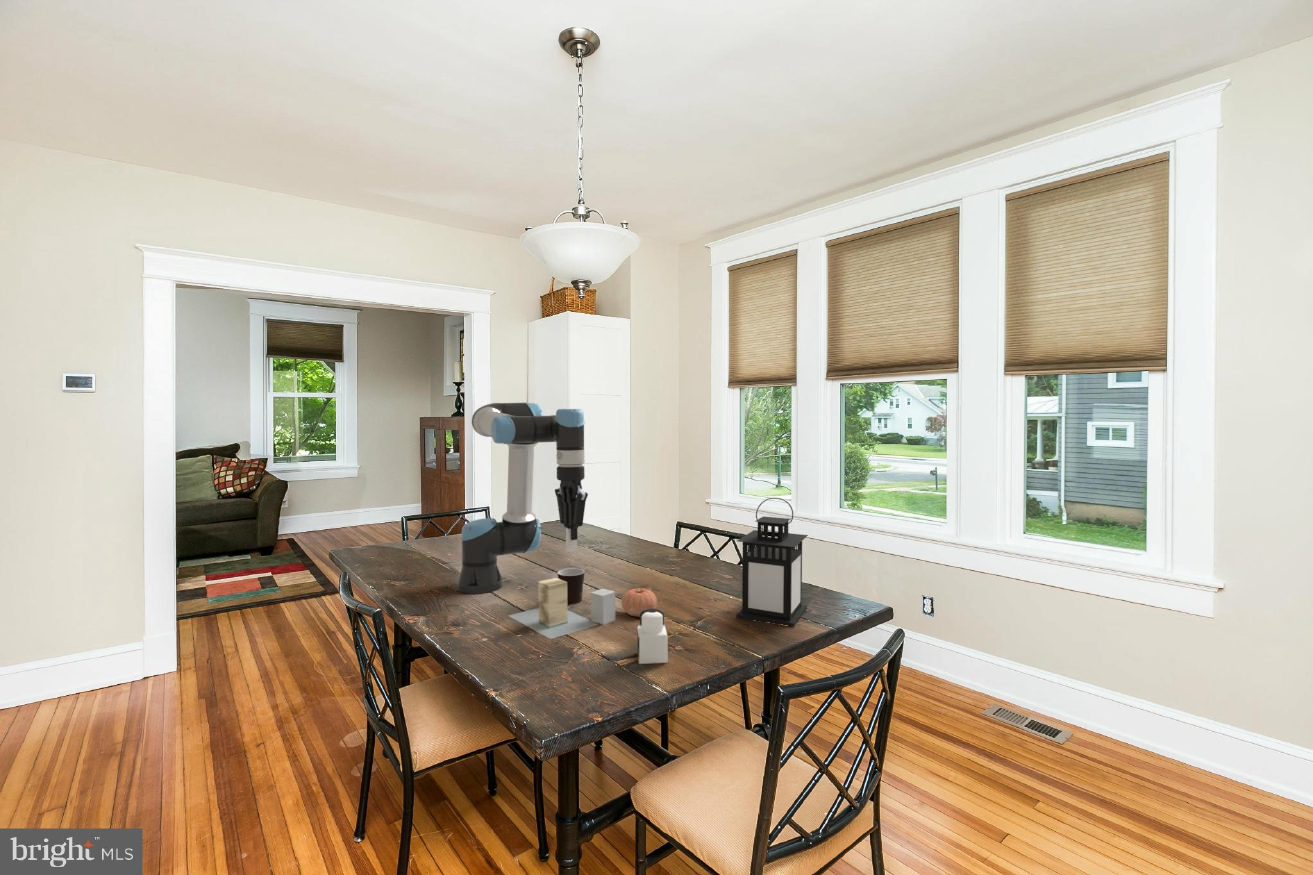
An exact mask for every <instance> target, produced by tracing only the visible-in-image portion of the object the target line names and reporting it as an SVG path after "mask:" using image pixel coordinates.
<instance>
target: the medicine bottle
mask: <svg viewBox="0 0 1313 875" xmlns="http://www.w3.org/2000/svg"><path fill="white" fill-rule="evenodd" d="M666 629H667V628H666V625H665V613H664V611H662V610H660V609H658V608H655V609H646V610H643V611H642V612H641V613H640V617H639V625H637V627H636V637H637V639H636V640H637V641H636V642H637V643H636V645H637V646H636V651H637V662H638V664H639V665H645V664H646V665H647V664H648V665H650V664H667V663H668V661H669V660H668V659H669V658H668V646H669V645H668V638H669V637H668V632H667V630H666Z"/></svg>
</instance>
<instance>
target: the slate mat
mask: <svg viewBox="0 0 1313 875" xmlns="http://www.w3.org/2000/svg"><path fill="white" fill-rule="evenodd" d="M508 617H509V618H511V619H513V620H515V621H517V622H519V623H520V624H523V625H524V626H525V627H527V628H530V629H531V630H533V631H534V632H536V633H539V634H541V635H542V636H545V637H546V638H548V640H549V639H550V640H553V639H555V638H559V637H562V636H566V635H568V634H572V633H573V634H574V633H576V632H579V631H583V630H585V629H590V628H592V627H596V626H599V625H600V624H599V623H596V622H593V621H591V619H588V618H585V617H584V616H581V615H579V614H577V613H575V612H572V611H570V610H568V623H566V624H563V625H559V626H555V627H552V628H548V627H547V626H545V625H543V624H541V623H539V607H537V608H533V609H529V610H526V611H525V610H524V611H522V612H517V613H513V614H509V615H508Z"/></svg>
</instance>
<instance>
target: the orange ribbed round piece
mask: <svg viewBox="0 0 1313 875" xmlns="http://www.w3.org/2000/svg"><path fill="white" fill-rule="evenodd" d="M620 605H621V607H622V609H623V611H624V612H625V613H626V614H627V615H629V616H630V617H636V618H640V613H641V612H642V611H643V610H646V609H657V606H658V598H657V596H656V595H655V593H654V592H653V591H651V590H650V589H646V588H642V587H641V588H640V587H639V588H638V587H637V588H632V589H629V590H628V591H625V593H624V594H623V595H622V597H621V604H620Z"/></svg>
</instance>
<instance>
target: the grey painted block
mask: <svg viewBox="0 0 1313 875" xmlns="http://www.w3.org/2000/svg"><path fill="white" fill-rule="evenodd" d="M590 621H592V622H594V623H596V624H599V625H606V624H608V623H611V622H614V621H616V591H614V590H610V589H606V588H600V589H597V590H594V591H592V592H590Z"/></svg>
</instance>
